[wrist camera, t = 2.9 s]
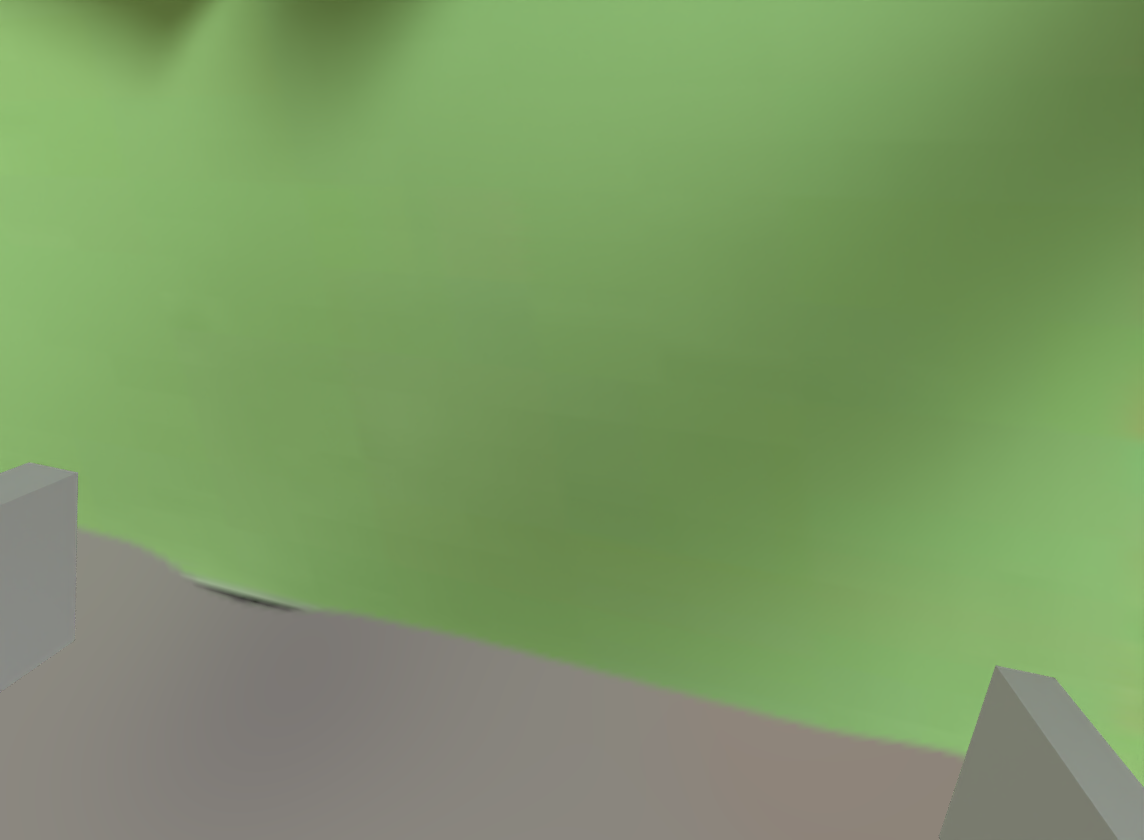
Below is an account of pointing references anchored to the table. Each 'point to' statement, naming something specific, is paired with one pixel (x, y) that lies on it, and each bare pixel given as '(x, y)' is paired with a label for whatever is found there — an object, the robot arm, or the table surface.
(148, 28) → the table surface
